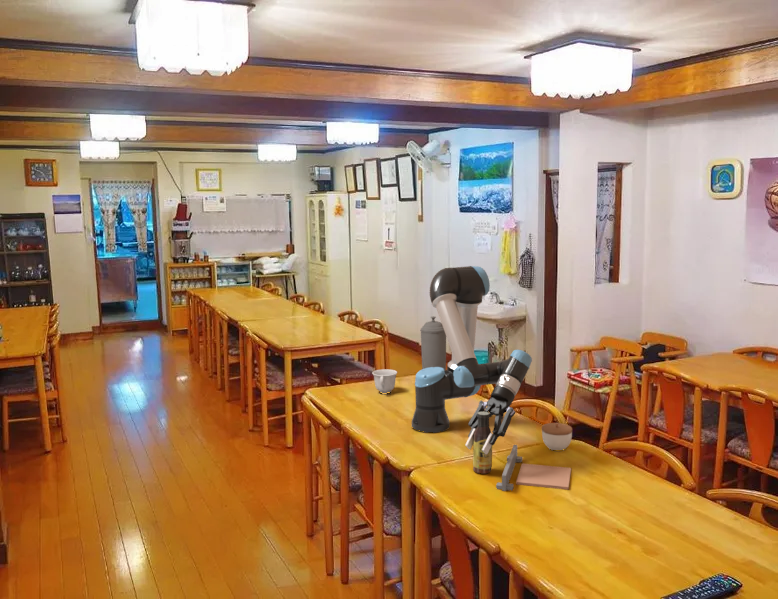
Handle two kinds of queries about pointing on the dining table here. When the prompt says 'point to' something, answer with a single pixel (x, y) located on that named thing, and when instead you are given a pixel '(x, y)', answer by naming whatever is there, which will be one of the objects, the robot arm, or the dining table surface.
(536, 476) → the terracotta tile
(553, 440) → the lidded jar
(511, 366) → the robot arm
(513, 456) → the grey wall
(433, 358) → the canister
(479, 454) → the sauce bottle
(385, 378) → the teacup
